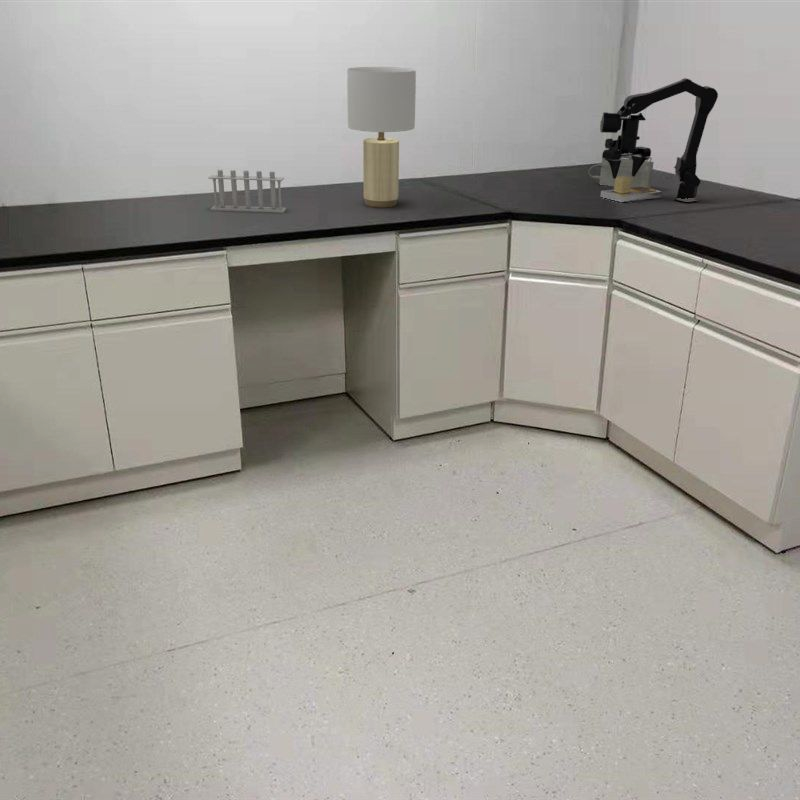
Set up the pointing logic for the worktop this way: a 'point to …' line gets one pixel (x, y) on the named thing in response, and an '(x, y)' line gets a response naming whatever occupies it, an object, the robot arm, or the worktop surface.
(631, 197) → the rail plate
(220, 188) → the test tube rack
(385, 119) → the lamp
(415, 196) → the worktop surface
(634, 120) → the robot arm
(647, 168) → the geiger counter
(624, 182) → the brass peg
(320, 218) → the worktop surface
